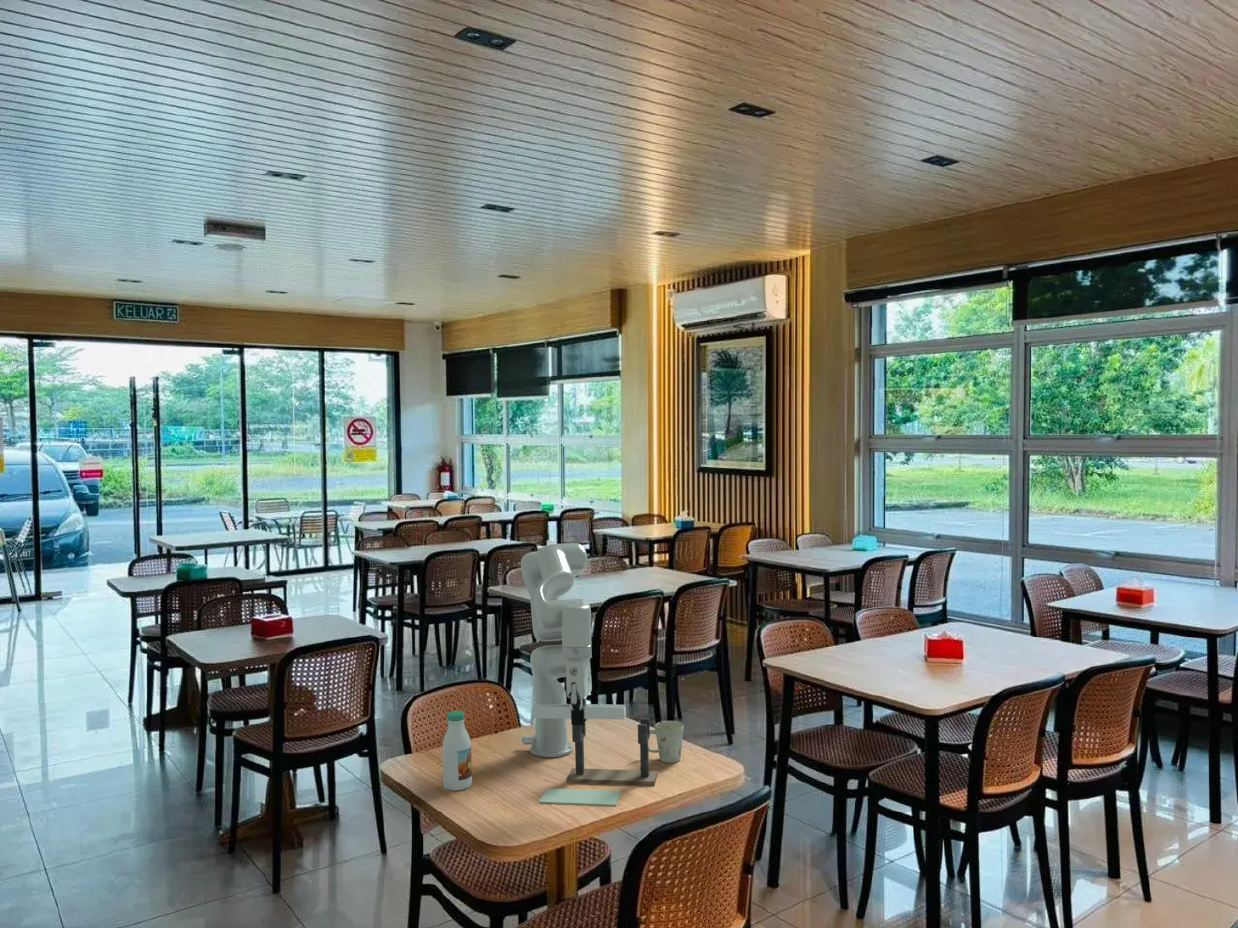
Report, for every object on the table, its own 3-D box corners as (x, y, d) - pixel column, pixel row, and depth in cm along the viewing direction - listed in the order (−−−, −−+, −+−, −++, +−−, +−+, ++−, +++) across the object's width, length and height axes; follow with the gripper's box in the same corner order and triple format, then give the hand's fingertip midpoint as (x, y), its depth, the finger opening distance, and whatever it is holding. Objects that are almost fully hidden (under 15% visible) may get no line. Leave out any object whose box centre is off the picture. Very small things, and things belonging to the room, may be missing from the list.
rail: (532, 717, 237) (532, 706, 237) (535, 714, 240) (535, 703, 240) (624, 719, 234) (623, 707, 234) (625, 716, 237) (625, 704, 237)
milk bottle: (448, 793, 243) (446, 718, 243) (439, 784, 250) (437, 711, 250) (476, 787, 247) (474, 714, 246) (467, 778, 254) (465, 707, 253)
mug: (682, 764, 260) (681, 730, 260) (639, 762, 263) (638, 728, 263) (686, 755, 268) (685, 721, 268) (644, 753, 271) (643, 719, 271)
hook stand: (566, 782, 249) (564, 724, 248) (572, 772, 257) (571, 715, 256) (654, 785, 245) (652, 726, 245) (657, 775, 253) (656, 717, 252)
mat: (539, 803, 235) (539, 801, 235) (547, 789, 244) (547, 788, 244) (616, 805, 232) (615, 804, 232) (621, 792, 241) (621, 791, 241)
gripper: (585, 659, 228) (587, 732, 228) (597, 645, 244) (599, 714, 245) (555, 658, 229) (557, 732, 230) (569, 645, 246) (571, 713, 246)
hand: (579, 722), depth 237 cm, fingers closed on rail, 3 cm apart
